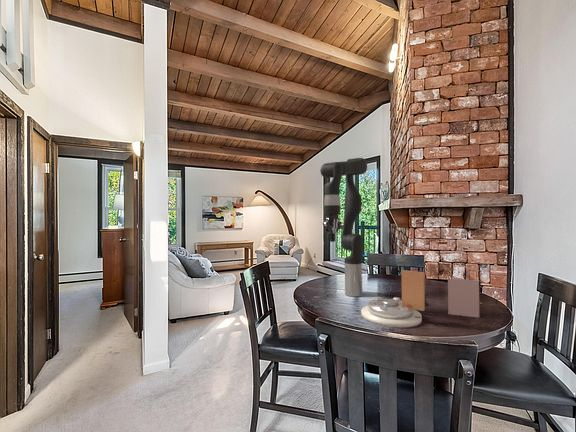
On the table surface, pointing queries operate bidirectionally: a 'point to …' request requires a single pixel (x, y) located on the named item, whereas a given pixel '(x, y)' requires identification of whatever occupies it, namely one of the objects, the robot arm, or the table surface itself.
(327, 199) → the robot arm
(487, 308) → the table surface
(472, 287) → the greeting card
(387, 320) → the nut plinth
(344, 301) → the table surface
